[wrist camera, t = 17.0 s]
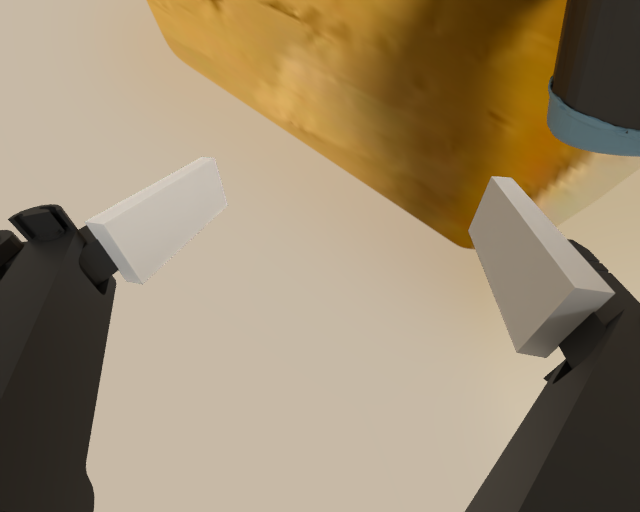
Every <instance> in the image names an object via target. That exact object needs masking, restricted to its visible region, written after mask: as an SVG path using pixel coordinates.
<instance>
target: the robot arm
mask: <svg viewBox="0 0 640 512" xmlns="http://www.w3.org/2000/svg"><path fill="white" fill-rule="evenodd" d="M548 91H549V96H550V98H549V106H548V113H547V125H548V127H549V128H550V131H551V132H552V134H553V135H554V136H555V137H556V138H557V139H559V140H560V141H562V142H564V143H566V144H568V145H570V146H573V147H576V148H579V149H583V150H587V151H591V152H596V153H602V154H609V155H619V156H640V0H567V3H566V8H565V14H564V19H563V25H562V30H561V36H560V41H559V47H558V52H557V58H556V63H555V69H554V74H553V76H552V77H551V78H550V81H549V85H548ZM227 206H228V204H227V201H226V197H225V193H224V190H223V186H222V182H221V179H220V175H219V171H218V168H217V164H216V160H215V158H210V157H201V158H199V159H197V160H195V161H194V162H192V163H190V164H188V165H186V166H185V167H183V168H181V169H179V170H177V171H176V172H174V173H172V174H170V175H168V176H166V177H165V178H163V179H161V180H159V181H157V182H156V183H154V184H152V185H150V186H148V187H147V188H145V189H143V190H141V191H139V192H138V193H136V194H134V195H132V196H131V197H128V198H127V199H125V200H123V201H121V202H119V203H118V204H116V205H114V206H112V207H111V208H109V209H107V210H105V211H103V212H102V213H100V214H98V215H96V216H94V217H92V218H90V219H89V220H87V221H85V223H86V226H84V227H83V228H81V229H79V230H78V229H77V228H76V226H75V225H74V223H73V222H72V221H71V220H70V218H69V217H68V215H67V214H66V213H65V211H64V210H63V209H62V207H61V206H59V205H51V204H50V205H42V206H37V207H33V208H30V209H27V210H24V211H21V212H19V213H17V214H15V215H13V216H12V217H10V218H9V219H8V220H9V221H10V222H11V223H12V224H13V225H14V226H15V227H16V228H17V230H18V231H19V232H20V233H21V234H22V235H23V236H24V237H25V238H26V239H27V240H28V241H27V242H21V241H20V240H19V239H18V237H17V236H16V235H15V234H14V233H13V232H12V231H9V230H0V512H93V511H94V492H93V487H92V484H91V482H90V480H89V478H88V476H87V473H86V458H87V453H88V447H89V441H90V435H91V429H92V423H93V417H94V411H95V406H96V400H97V394H98V388H99V382H100V376H101V371H102V364H103V358H104V353H105V347H106V341H107V335H108V329H109V324H110V317H111V312H112V306H113V300H114V294H115V288H116V280H115V279H114V277H113V276H112V274H114V273H115V272H116V271H117V270H119V271H120V273H121V274H122V276H123V277H124V279H125V280H126V281H127V282H133V283H138V284H143V283H145V282H146V281H147V280H148V279H149V278H150V277H151V276H152V275H153V274H154V273H155V272H157V271H158V270H159V269H160V268H161V267H162V266H163V265H164V264H165V263H166V262H167V261H168V260H169V259H170V258H172V256H174V255H175V254H176V253H177V252H178V251H179V250H180V249H181V248H182V247H184V246H185V245H186V244H187V243H188V242H189V241H190V240H191V239H192V238H193V237H194V236H195V235H196V234H198V233H199V231H201V230H202V229H203V228H204V227H205V226H206V225H207V224H208V223H209V222H210V221H211V220H212V219H214V218H215V217H216V216H217V215H218V214H219V213H220V212H221V211H222V210H223V209H225V208H226V207H227ZM468 231H469V234H470V236H471V239H472V241H473V244H474V247H475V249H476V252H477V254H478V257H479V259H480V261H481V264H482V266H483V269H484V272H485V274H486V277H487V279H488V282H489V284H490V287H491V289H492V292H493V294H494V297H495V299H496V302H497V304H498V307H499V309H500V312H501V314H502V317H503V320H504V322H505V324H506V327H507V330H508V332H509V335H510V337H511V340H512V342H513V345H514V347H515V350H516V352H517V353H522V354H528V355H533V356H538V357H544V358H547V357H548V356H549V355H550V354H551V353H552V352H553V351H554V350H555V349H556V348H557V347H558V346H559V347H560V349H561V351H562V352H563V354H564V356H565V358H566V359H565V360H564V361H563V362H562V363H561V364H560V365H558V366H557V367H556V368H555V369H554V370H552V371H551V372H550V373H549V374H548V375H547V376H545V378H544V379H545V380H546V381H548V382H547V384H546V386H545V387H544V389H543V390H542V392H541V393H540V395H539V396H538V398H537V400H536V401H535V403H534V404H533V406H532V408H531V409H530V411H529V412H528V414H527V415H526V417H525V418H524V420H523V422H522V423H521V425H520V426H519V428H518V429H517V431H516V433H515V434H514V436H513V437H512V439H511V440H510V442H509V444H508V445H507V447H506V448H505V450H504V451H503V453H502V455H501V456H500V458H499V459H498V461H497V462H496V464H495V465H494V467H493V469H492V470H491V472H490V473H489V475H488V476H487V478H486V479H485V481H484V483H483V484H482V486H481V487H480V489H479V490H478V492H477V494H476V495H475V497H474V498H473V500H472V501H471V503H470V505H469V506H468V508H467V509H466V511H465V512H640V303H639V302H638V301H637V300H636V299H635V298H634V297H633V296H632V294H630V292H629V291H627V289H626V288H625V287H624V286H623V285H622V284H621V283H620V282H619V281H618V280H617V279H616V278H615V277H614V276H613V275H612V274H611V273H608V269H607V268H606V267H605V266H604V265H603V264H601V263H599V260H598V259H597V258H596V257H595V256H594V255H593V254H592V253H591V252H590V251H589V250H588V249H586V248H585V247H583V246H582V245H580V244H578V243H577V242H575V241H574V240H569V239H566V238H565V237H564V236H563V234H562V233H561V232H560V231H559V230H558V229H557V228H556V227H555V225H554V224H553V223H552V222H551V221H550V220H549V219H548V218H547V217H546V215H545V214H544V213H543V212H542V211H541V210H540V209H539V208H538V207H537V205H536V204H535V203H534V202H533V201H532V200H531V199H530V198H529V196H528V195H527V194H526V193H525V192H524V191H523V190H522V189H521V188H520V186H519V185H518V184H517V183H516V182H515V181H514V180H513V179H512V178H509V177H494V176H491V178H490V181H489V183H488V186H487V188H486V190H485V193H484V195H483V197H482V200H481V202H480V204H479V207H478V209H477V211H476V214H475V216H474V218H473V221H472V223H471V225H470V228H469V230H468Z"/></svg>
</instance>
